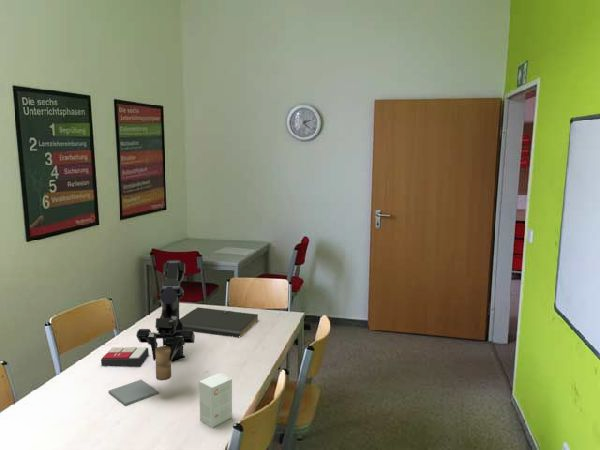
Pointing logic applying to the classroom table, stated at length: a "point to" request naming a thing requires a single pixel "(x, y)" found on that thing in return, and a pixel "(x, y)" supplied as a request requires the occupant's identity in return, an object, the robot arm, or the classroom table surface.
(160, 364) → the roller
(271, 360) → the classroom table surface
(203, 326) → the file folder
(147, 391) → the pad
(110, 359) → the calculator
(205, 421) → the small box
